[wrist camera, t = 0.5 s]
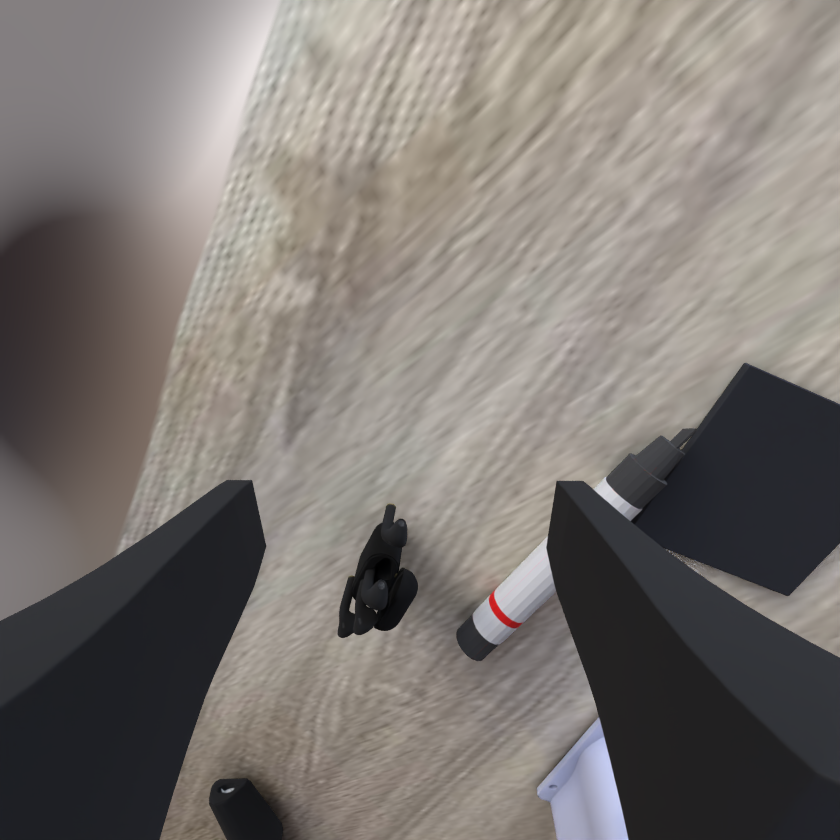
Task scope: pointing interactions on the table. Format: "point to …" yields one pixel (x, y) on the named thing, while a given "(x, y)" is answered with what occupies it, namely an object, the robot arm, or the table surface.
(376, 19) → the table surface
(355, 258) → the table surface
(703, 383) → the table surface
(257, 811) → the electric trimmer
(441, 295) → the table surface
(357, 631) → the wireless earbuds
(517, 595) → the marker
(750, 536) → the coaster
